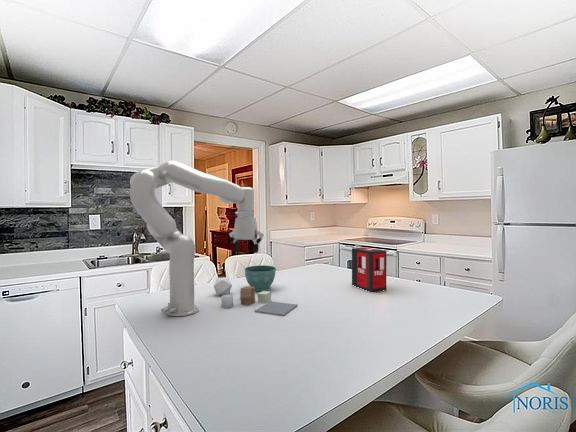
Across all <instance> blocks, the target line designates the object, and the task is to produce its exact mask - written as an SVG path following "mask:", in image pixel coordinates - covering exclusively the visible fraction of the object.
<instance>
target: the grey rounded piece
mask: <svg viewBox="0 0 576 432" xmlns="http://www.w3.org/2000/svg"><path fill="white" fill-rule="evenodd" d="M220 296H221V301H220V302H221V308H223V309H232V308H233V307H234V295H233V294H229V295H220Z"/></svg>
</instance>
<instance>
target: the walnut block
mask: <svg viewBox="0 0 576 432" xmlns="http://www.w3.org/2000/svg"><path fill="white" fill-rule="evenodd" d="M240 291H241V300H240V305H243V306H249V307H250V306H252V305H253V304H255V303H256V291H255V287H251V286H250V285H249V286H248V285H246V286H244V287H242V288H240Z"/></svg>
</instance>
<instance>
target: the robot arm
mask: <svg viewBox="0 0 576 432" xmlns="http://www.w3.org/2000/svg"><path fill="white" fill-rule="evenodd" d="M171 183H174V184H175V185H178V186H181V187H183V188H186V189H189V190H191V191H193V192H196V193H199V194H205V195H207V194H208V195H212V196H216V197H218V198H219V200H220V201H221V202H223V203H224V204H237V210H236V211H235V215H236V216H237V217H235V220H234V229H233V231H231V232H229V234H228V235H229V237H230V240H231V241H232V243H233V249H234V252H235V253H239V252H240V241H241V240H242V241H245V240H246V241H252V242H253V244H252V246H253V249H252V250H253V254H257V253H258V252H259V250H260V249H259V248H260V247H259V244H260V243H261V242H262V240H263V238H264V237H265V236H264V233H262V232H261V231H259V230H258V223H257V218H256V217H255V189H254V187H249V186H246V187H245V186H244V187H242V186H240V185H238V184H236V183H233V182H231V181H229V180H227V179H224V178H220V177H218V176H215V175H212V174H209V173H206V172H202V171H200V170H198V169H195V168H194V167H191V166H189V165H187V164H184V163H182V162H179V161H177V160H168V161H165V162H164V163H161V164H159V165H156V166H153V167H151V168H147V169H140V170H138V171H136V172H134V173H133V174H132V175H131V177H130V179H129V185H130V189H129V192H130V193H129V194H130V196H129V197H130V202H131V204H132V206H133V208H134V210H135V211H136V212H137V213H138V214H139V216H140V217H141V218H142V219H143V221H144V222H145V223H146V228H147V231H148V232H149V234H150V235H151V236H152V238H153V239H154V240H156V241H157V243H158V244H159V245H160V246H161V247H162V248H163V250H164V251H165V252H166V253H168V254H169V265H168V268H169V269H168V270H169V272H168V275H169V302H168V303H167V306H164V307H162V308H161V309H160V312H161V314H166V315H167V316H170V317H184V316H190V315H193V314H195V313H197V312H199V306H198V305H196V304H195V255H196V253H195V252H196V244H195V242H194V240H193V238H192V237H191V236H189V235H187V234H185V233H181V231H179V229H178V228H177V223H176V220H175V219H174V218H173V217H172V215H171V214H169V213H168V211H167V210H166V209H165V207H164V206H163V205H162V203H160V200H158V199H157V197H156V194H155V193H156V192H155V190H156V189H159V188H161V187H164V186H167V185H168V184H171Z"/></svg>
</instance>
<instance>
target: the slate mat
mask: <svg viewBox="0 0 576 432" xmlns="http://www.w3.org/2000/svg"><path fill="white" fill-rule="evenodd" d="M297 307H298V304H296V303H288V302H287V303H286V302H278V301H273V300H270V301H269V302H267V303H264V304H263V305H261V306H260V307H258V308H257V309H255V310H254V312H255V313H257V314H258V313H259V314H266V315H272V316H273V315H274V316H279V317H280V316H281V317H285V316H286V315H287V314H289V313H290V312H292V311H293V310H294V309H295V308H297Z"/></svg>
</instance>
